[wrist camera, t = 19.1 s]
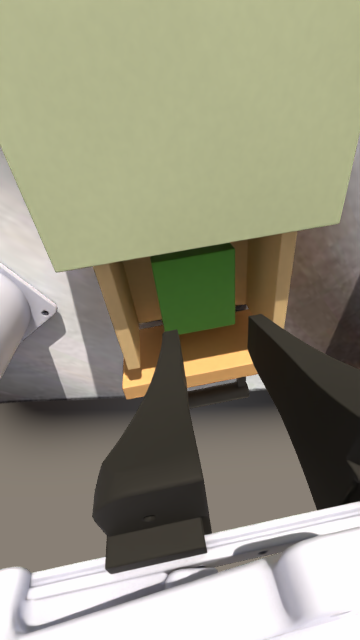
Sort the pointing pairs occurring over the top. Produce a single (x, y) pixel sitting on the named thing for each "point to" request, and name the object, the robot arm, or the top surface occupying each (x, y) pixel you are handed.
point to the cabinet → (177, 120)
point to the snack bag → (196, 288)
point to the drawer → (207, 345)
